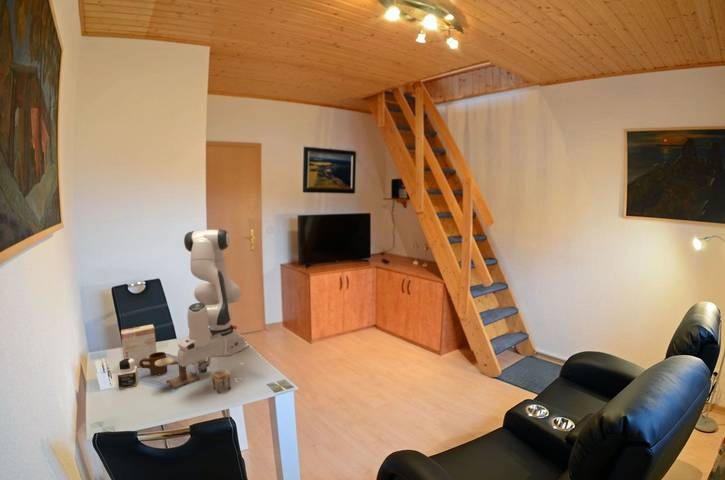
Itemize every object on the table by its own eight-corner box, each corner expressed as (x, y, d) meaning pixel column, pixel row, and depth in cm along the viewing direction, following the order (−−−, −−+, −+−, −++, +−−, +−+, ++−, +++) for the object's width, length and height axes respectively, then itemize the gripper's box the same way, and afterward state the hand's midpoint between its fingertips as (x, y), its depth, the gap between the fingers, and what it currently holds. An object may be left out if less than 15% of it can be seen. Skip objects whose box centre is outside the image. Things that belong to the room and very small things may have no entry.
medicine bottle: (118, 389, 182) (116, 364, 181) (121, 382, 189) (118, 358, 187) (136, 386, 185) (134, 361, 184) (138, 379, 192) (136, 355, 190)
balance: (202, 370, 201) (200, 345, 199) (211, 375, 195) (209, 350, 193) (153, 387, 183) (151, 361, 182) (161, 394, 178) (159, 367, 176)
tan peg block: (224, 384, 185) (223, 369, 184) (231, 388, 181) (230, 373, 180) (212, 389, 181) (211, 373, 180) (219, 393, 177) (218, 377, 176)
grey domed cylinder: (204, 368, 185) (204, 359, 184) (208, 371, 183) (207, 361, 182) (197, 371, 183) (196, 362, 182) (201, 374, 180) (200, 364, 179)
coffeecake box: (156, 358, 216) (153, 323, 213) (157, 363, 210) (154, 327, 207) (124, 365, 207) (120, 329, 205) (124, 370, 201) (121, 333, 199)
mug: (141, 380, 191) (139, 361, 189) (139, 374, 197) (137, 356, 196) (168, 373, 198) (167, 355, 197) (165, 368, 204) (164, 350, 203)
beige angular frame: (270, 377, 193) (269, 375, 193) (238, 390, 180) (238, 388, 180) (241, 362, 209) (241, 360, 209) (210, 374, 197) (210, 372, 197)
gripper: (217, 330, 190) (220, 357, 192) (174, 344, 175) (177, 374, 177) (224, 333, 186) (227, 361, 188) (181, 348, 171) (184, 378, 173)
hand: (202, 367), depth 182 cm, fingers closed on grey domed cylinder, 4 cm apart
